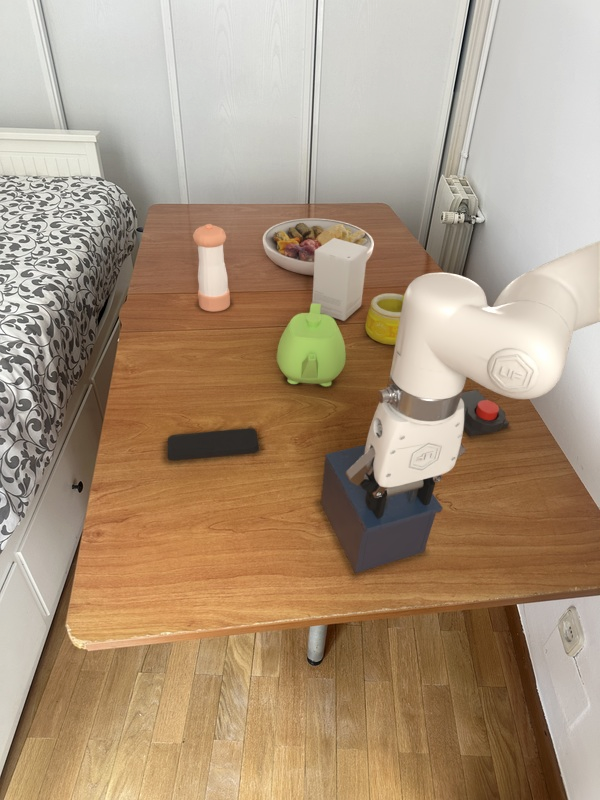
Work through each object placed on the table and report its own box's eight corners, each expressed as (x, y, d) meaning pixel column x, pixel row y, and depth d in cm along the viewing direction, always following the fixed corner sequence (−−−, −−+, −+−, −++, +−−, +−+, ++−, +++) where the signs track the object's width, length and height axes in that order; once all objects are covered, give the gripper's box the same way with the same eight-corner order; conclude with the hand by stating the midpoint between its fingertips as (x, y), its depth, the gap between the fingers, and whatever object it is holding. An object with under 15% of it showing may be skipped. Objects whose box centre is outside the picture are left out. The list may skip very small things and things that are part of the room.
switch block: (511, 432, 95) (516, 419, 93) (473, 441, 93) (477, 429, 91) (475, 394, 103) (479, 381, 102) (439, 402, 101) (442, 389, 99)
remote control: (256, 434, 93) (167, 440, 90) (256, 427, 92) (166, 432, 89) (259, 455, 89) (167, 461, 87) (259, 447, 88) (166, 453, 86)
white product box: (362, 306, 128) (369, 246, 119) (344, 322, 122) (350, 260, 113) (329, 295, 132) (334, 236, 122) (310, 310, 126) (313, 249, 116)
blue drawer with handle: (441, 511, 68) (450, 483, 65) (366, 533, 65) (371, 504, 62) (392, 441, 78) (398, 413, 75) (325, 457, 75) (327, 429, 72)
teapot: (343, 407, 99) (350, 350, 91) (271, 401, 99) (271, 344, 91) (344, 346, 114) (349, 293, 106) (281, 342, 115) (282, 289, 107)
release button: (500, 418, 94) (503, 410, 93) (483, 422, 93) (485, 415, 92) (488, 405, 97) (491, 398, 96) (471, 409, 96) (473, 402, 95)
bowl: (277, 229, 162) (277, 203, 157) (376, 241, 158) (379, 214, 153) (250, 273, 139) (249, 244, 134) (365, 287, 135) (369, 258, 130)
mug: (354, 337, 117) (360, 288, 110) (378, 317, 124) (385, 269, 117) (408, 358, 112) (418, 307, 104) (429, 335, 119) (440, 286, 112)
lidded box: (424, 552, 75) (438, 507, 69) (355, 573, 72) (363, 528, 66) (383, 487, 84) (392, 442, 78) (320, 503, 81) (325, 458, 75)
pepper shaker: (204, 314, 123) (196, 232, 111) (195, 299, 128) (187, 220, 116) (234, 308, 125) (230, 228, 113) (224, 294, 130) (220, 216, 118)
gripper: (364, 431, 51) (347, 545, 63) (514, 397, 56) (472, 508, 68) (334, 385, 57) (323, 497, 68) (473, 357, 61) (441, 467, 73)
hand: (397, 502), depth 68 cm, fingers open, 5 cm apart
